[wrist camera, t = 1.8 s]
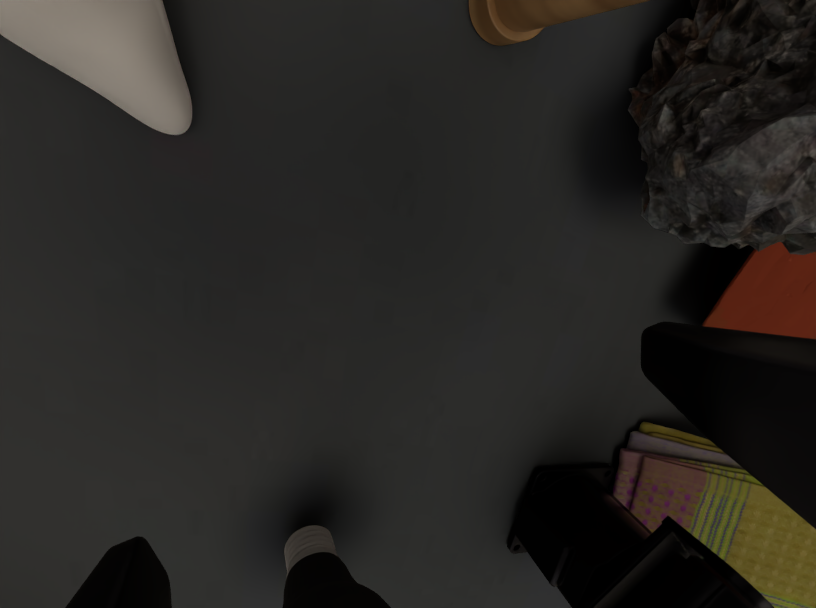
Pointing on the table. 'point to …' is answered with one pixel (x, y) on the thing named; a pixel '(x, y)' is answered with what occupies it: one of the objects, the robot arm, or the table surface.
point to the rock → (732, 125)
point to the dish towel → (719, 510)
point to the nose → (108, 52)
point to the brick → (770, 295)
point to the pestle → (531, 16)
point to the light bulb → (321, 574)
